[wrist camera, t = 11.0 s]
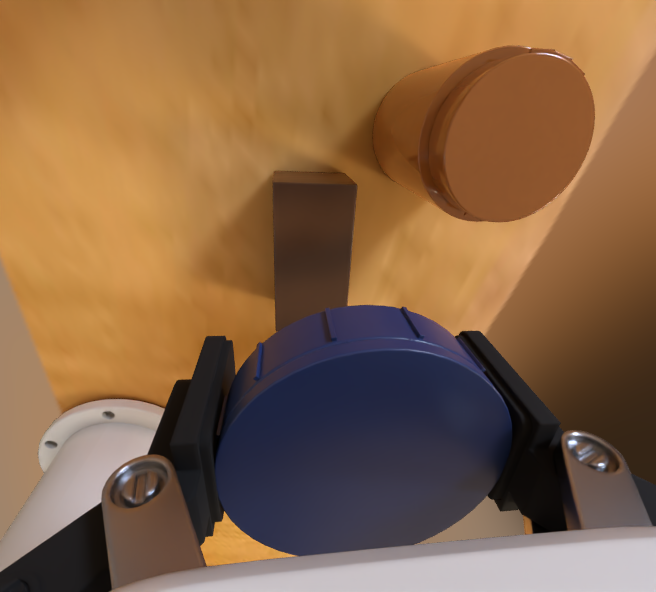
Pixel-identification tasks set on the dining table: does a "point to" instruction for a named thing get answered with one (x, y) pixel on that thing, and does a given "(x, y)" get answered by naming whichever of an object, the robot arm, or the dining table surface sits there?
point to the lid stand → (311, 242)
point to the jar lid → (358, 433)
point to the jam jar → (488, 132)
